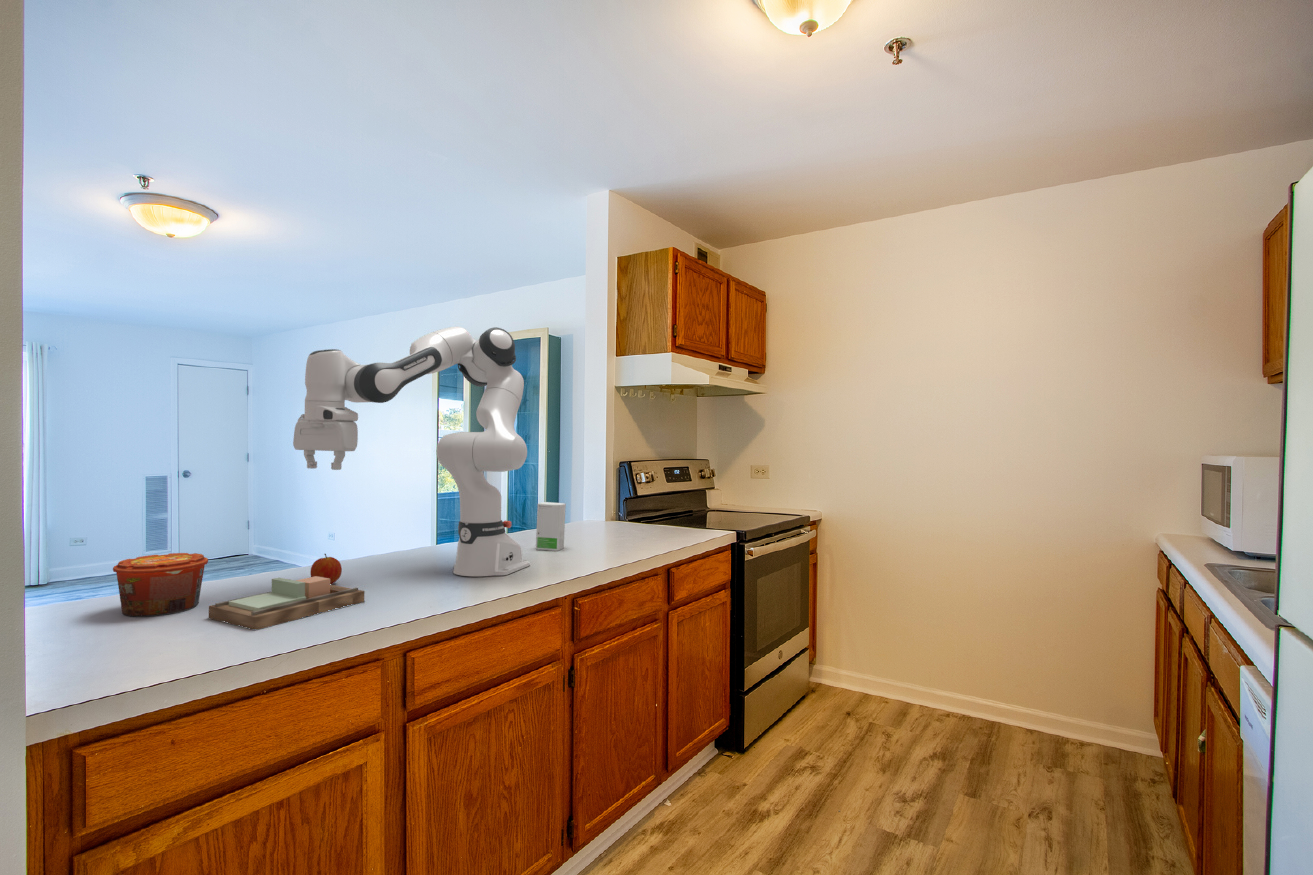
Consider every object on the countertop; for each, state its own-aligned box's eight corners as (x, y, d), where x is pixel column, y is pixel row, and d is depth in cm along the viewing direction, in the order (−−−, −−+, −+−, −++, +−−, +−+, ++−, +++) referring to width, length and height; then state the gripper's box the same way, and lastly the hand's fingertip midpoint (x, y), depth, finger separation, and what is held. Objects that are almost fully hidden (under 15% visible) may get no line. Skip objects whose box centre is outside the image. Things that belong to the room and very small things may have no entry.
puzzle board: (319, 592, 148) (319, 579, 148) (364, 601, 141) (364, 588, 141) (208, 618, 127) (208, 602, 127) (255, 630, 120) (255, 614, 120)
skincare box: (535, 550, 208) (535, 503, 208) (542, 546, 215) (542, 501, 215) (559, 551, 207) (559, 504, 207) (565, 547, 214) (566, 502, 214)
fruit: (339, 580, 161) (340, 549, 161) (343, 586, 156) (343, 554, 156) (309, 583, 157) (309, 552, 157) (311, 589, 152) (312, 556, 152)
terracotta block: (315, 598, 142) (316, 576, 142) (330, 600, 140) (330, 578, 140) (294, 603, 137) (294, 580, 137) (308, 606, 135) (309, 583, 135)
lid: (277, 594, 137) (277, 577, 137) (306, 600, 132) (306, 582, 132) (228, 605, 128) (229, 586, 128) (257, 611, 123) (258, 592, 123)
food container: (178, 596, 144) (179, 549, 144) (224, 604, 138) (224, 555, 138) (94, 613, 129) (95, 562, 129) (141, 623, 123) (142, 569, 123)
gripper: (286, 413, 158) (285, 468, 158) (339, 412, 148) (338, 471, 148) (310, 414, 163) (309, 467, 163) (362, 414, 154) (362, 470, 154)
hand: (323, 469), depth 156 cm, fingers open, 8 cm apart
